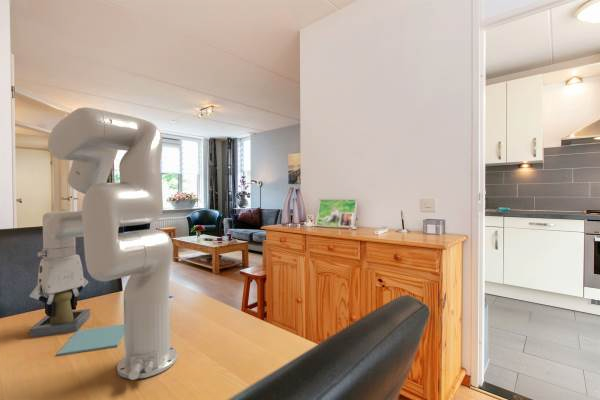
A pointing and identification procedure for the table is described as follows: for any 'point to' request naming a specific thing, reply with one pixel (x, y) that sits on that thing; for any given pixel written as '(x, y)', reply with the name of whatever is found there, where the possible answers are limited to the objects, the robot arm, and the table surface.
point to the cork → (62, 308)
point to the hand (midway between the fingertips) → (61, 311)
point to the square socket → (59, 325)
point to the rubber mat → (93, 339)
